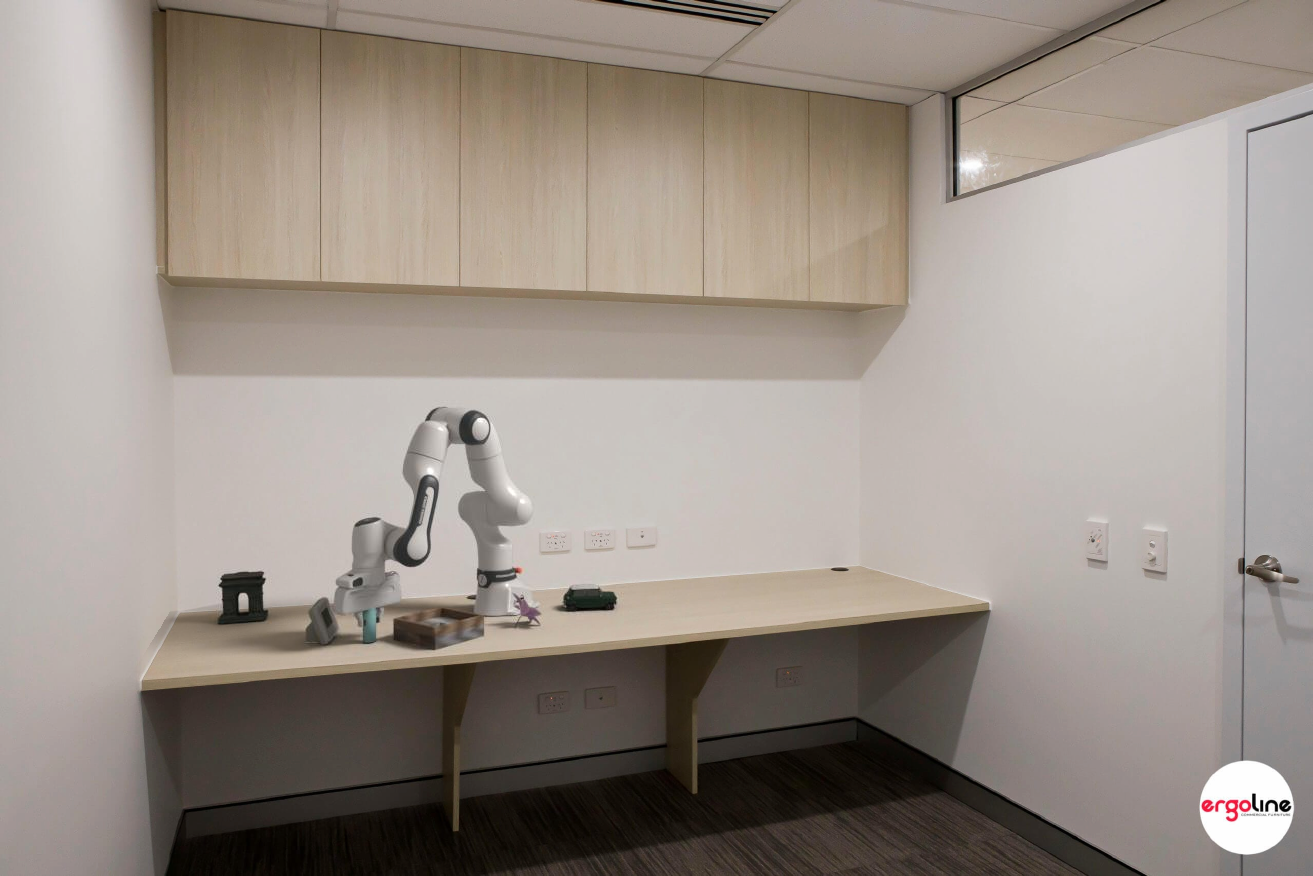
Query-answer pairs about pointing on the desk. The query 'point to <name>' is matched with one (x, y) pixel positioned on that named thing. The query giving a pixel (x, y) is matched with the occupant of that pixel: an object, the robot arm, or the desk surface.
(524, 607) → the lily
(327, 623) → the digital clock
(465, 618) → the bore box
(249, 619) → the model
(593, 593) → the miniature car
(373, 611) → the peg
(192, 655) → the desk surface
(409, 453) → the robot arm
